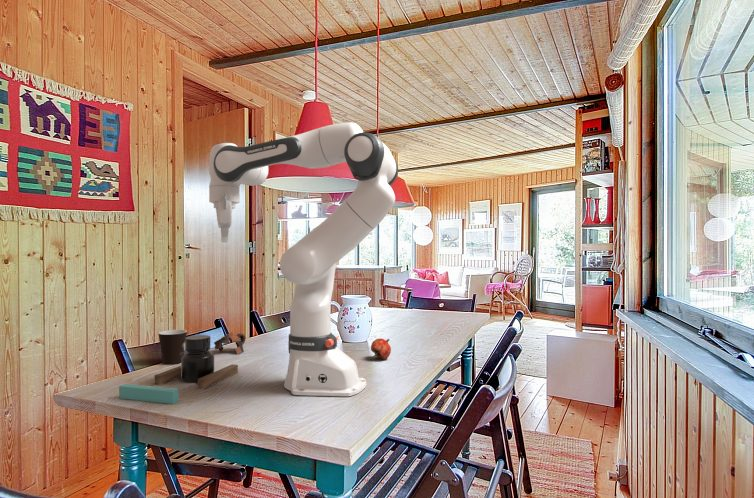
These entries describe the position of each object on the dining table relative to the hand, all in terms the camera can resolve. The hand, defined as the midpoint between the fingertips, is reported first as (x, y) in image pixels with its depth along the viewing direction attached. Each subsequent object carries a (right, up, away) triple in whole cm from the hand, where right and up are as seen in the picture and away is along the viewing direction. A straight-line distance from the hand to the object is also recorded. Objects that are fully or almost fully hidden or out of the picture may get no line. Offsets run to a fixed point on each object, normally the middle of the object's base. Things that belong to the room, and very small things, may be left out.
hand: (224, 242), depth 139 cm
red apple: (+48, -40, +15) cm, 64 cm away
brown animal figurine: (-6, -40, +26) cm, 48 cm away
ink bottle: (-5, -40, -8) cm, 41 cm away
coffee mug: (-20, -40, +12) cm, 46 cm away
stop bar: (-10, -40, -26) cm, 49 cm away
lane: (-5, -40, -8) cm, 41 cm away
